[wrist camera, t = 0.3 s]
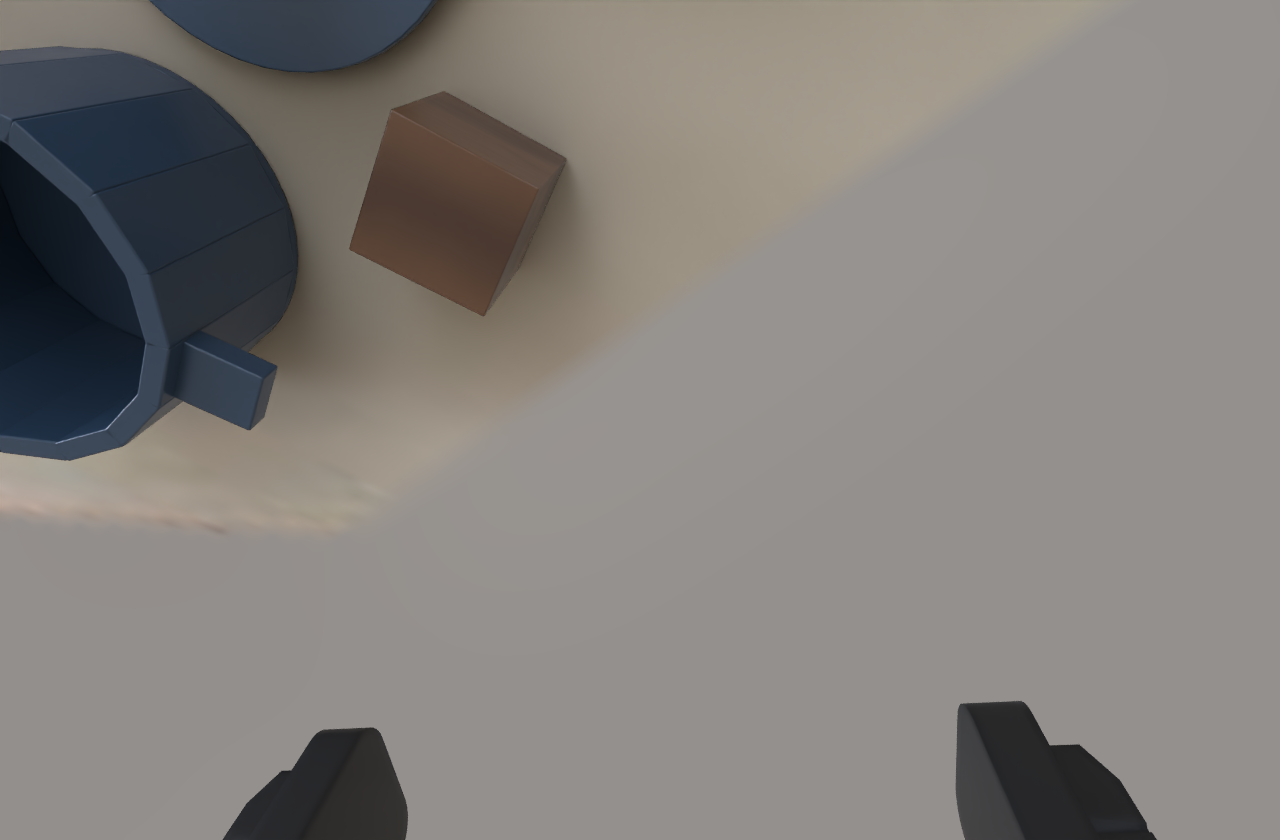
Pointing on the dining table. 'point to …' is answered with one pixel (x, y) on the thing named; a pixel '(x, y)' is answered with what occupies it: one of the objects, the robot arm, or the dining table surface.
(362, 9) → the lid
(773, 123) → the dining table surface
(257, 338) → the pot
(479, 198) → the block
